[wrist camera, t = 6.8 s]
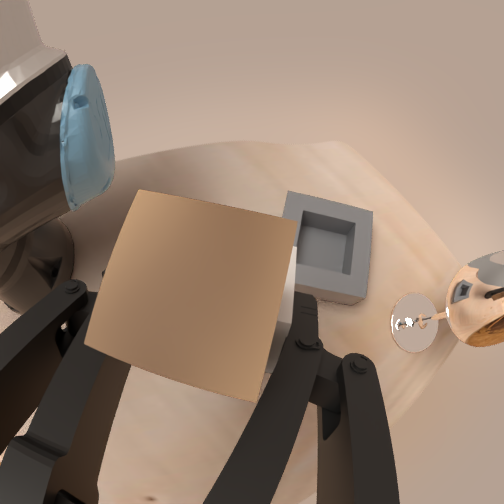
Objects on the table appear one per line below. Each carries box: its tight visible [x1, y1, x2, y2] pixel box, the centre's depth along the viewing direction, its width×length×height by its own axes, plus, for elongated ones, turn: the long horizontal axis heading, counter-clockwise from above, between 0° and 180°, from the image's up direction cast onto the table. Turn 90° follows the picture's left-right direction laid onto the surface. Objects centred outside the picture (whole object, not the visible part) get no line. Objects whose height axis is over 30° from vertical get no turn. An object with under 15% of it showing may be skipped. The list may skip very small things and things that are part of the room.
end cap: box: [282, 191, 373, 305], centre depth 31 cm, size 10×10×4 cm
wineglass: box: [391, 250, 504, 353], centre depth 21 cm, size 8×8×20 cm
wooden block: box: [84, 189, 298, 403], centre depth 12 cm, size 4×4×14 cm
